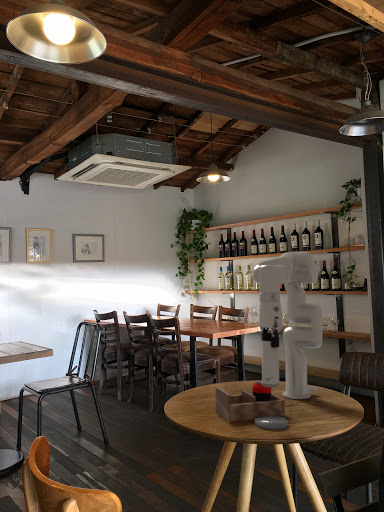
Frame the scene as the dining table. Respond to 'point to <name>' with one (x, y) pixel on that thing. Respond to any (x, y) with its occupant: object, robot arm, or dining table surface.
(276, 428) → the grey round plate
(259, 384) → the soda can
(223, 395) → the walnut rack
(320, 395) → the dining table surface
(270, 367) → the travel mug
